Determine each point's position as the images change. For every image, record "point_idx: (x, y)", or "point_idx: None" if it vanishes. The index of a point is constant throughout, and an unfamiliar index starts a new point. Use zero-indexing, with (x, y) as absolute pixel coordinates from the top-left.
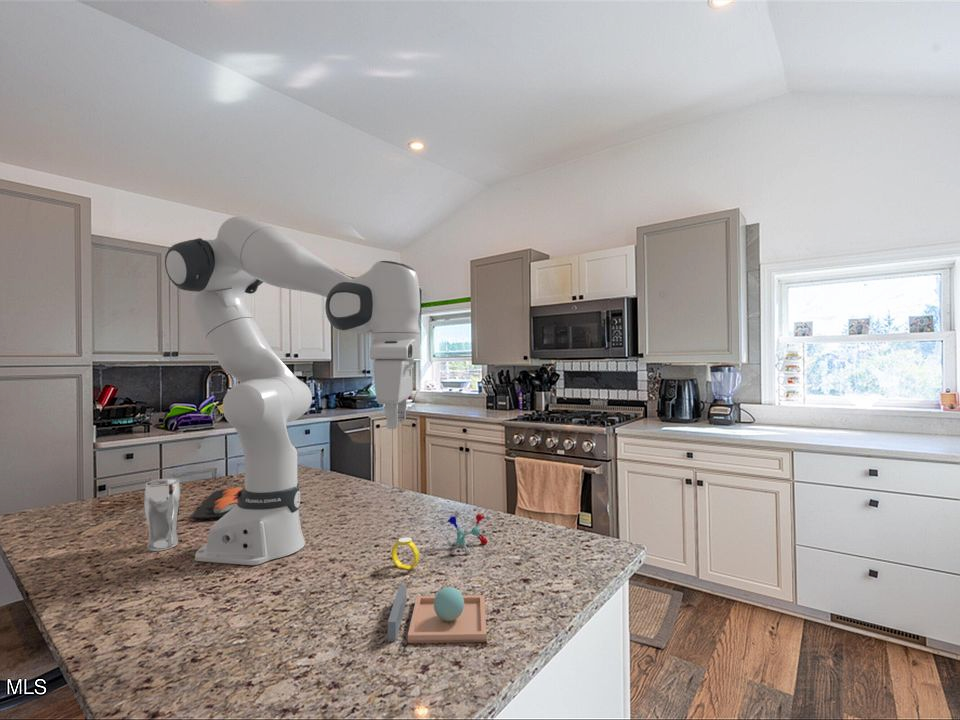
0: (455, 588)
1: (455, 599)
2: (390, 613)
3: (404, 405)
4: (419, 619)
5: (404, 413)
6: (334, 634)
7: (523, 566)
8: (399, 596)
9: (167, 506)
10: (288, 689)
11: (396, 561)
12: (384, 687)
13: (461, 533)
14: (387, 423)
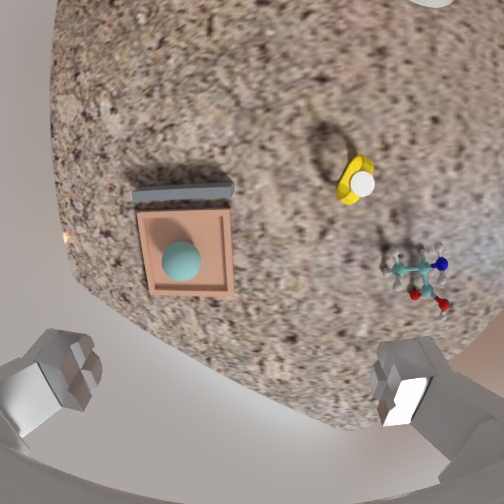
0: (184, 276)
1: (166, 274)
2: (150, 190)
3: (448, 448)
4: (182, 217)
5: (384, 421)
6: (151, 117)
7: (331, 339)
8: (194, 193)
9: None
10: (70, 115)
11: (357, 161)
12: (79, 201)
13: (419, 270)
14: (37, 344)
